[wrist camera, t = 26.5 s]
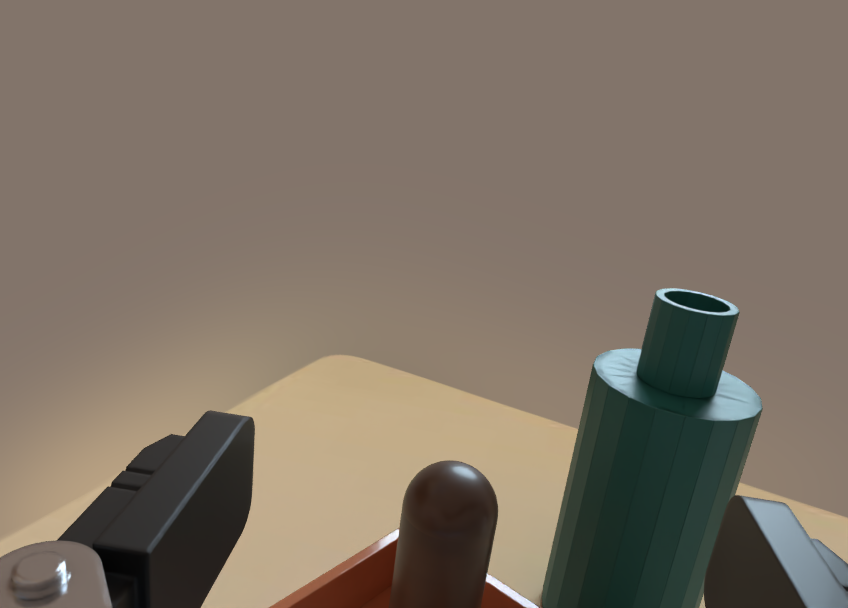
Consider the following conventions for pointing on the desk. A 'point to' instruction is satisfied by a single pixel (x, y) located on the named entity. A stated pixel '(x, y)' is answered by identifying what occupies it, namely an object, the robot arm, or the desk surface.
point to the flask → (654, 463)
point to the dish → (378, 583)
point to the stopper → (444, 538)
